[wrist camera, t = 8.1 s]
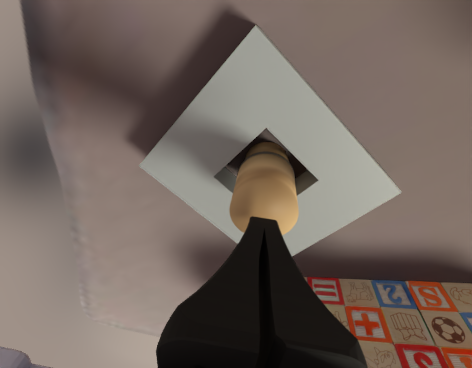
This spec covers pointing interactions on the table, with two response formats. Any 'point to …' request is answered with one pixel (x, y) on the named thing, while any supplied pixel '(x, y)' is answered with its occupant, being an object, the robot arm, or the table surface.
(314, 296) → the robot arm
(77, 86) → the table surface
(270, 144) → the peg
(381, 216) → the table surface
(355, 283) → the stack of blocks
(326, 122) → the board
